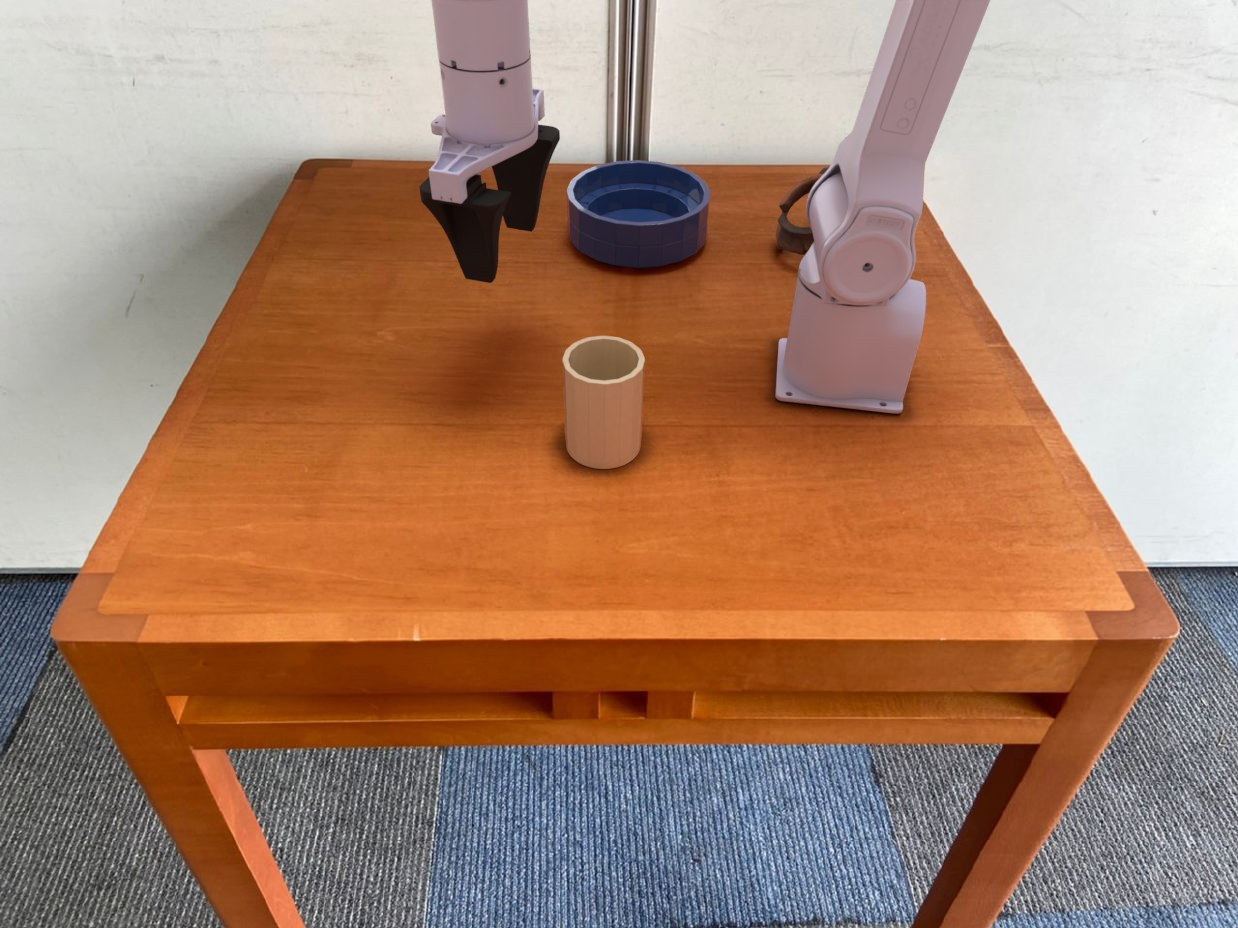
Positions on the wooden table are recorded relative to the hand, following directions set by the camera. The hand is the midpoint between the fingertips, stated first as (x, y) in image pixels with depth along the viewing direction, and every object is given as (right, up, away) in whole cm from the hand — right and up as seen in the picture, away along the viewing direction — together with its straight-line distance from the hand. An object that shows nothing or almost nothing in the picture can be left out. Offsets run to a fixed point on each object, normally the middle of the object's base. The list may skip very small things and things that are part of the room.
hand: (501, 252), depth 65 cm
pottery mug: (+28, +5, +21) cm, 36 cm away
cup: (+7, -14, 0) cm, 16 cm away
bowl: (+10, +6, +22) cm, 25 cm away
